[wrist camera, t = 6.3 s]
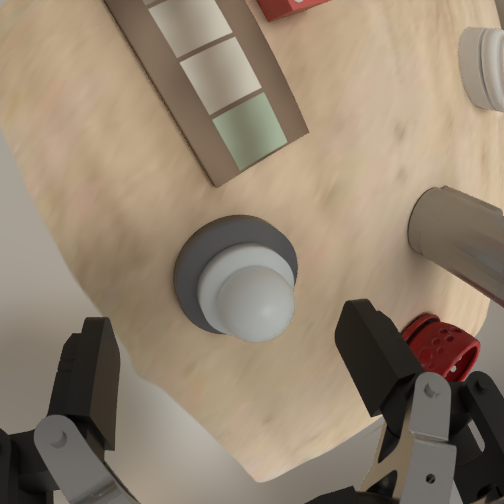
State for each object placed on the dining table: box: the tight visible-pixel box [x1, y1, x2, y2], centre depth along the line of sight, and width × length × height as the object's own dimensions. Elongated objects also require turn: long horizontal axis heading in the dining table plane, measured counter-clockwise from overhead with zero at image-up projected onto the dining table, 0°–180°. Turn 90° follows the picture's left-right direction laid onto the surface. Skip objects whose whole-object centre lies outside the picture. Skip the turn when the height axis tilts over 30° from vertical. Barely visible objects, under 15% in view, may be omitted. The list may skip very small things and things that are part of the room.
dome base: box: [174, 215, 298, 334], centre depth 28 cm, size 11×11×2 cm
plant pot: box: [402, 314, 480, 382], centre depth 44 cm, size 13×13×12 cm
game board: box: [104, 0, 309, 188], centre depth 19 cm, size 9×20×1 cm, turn 27°
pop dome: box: [197, 242, 295, 343], centre depth 24 cm, size 8×8×6 cm
